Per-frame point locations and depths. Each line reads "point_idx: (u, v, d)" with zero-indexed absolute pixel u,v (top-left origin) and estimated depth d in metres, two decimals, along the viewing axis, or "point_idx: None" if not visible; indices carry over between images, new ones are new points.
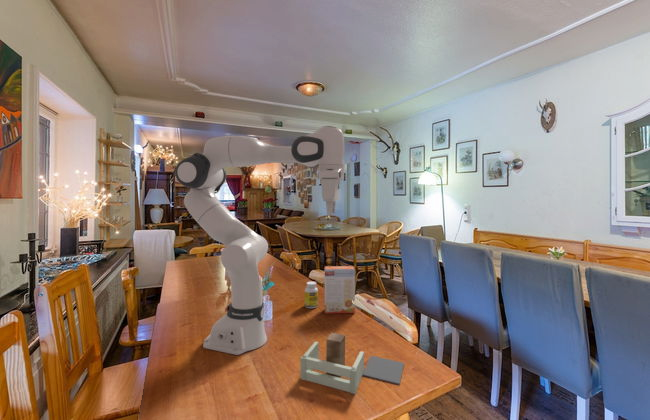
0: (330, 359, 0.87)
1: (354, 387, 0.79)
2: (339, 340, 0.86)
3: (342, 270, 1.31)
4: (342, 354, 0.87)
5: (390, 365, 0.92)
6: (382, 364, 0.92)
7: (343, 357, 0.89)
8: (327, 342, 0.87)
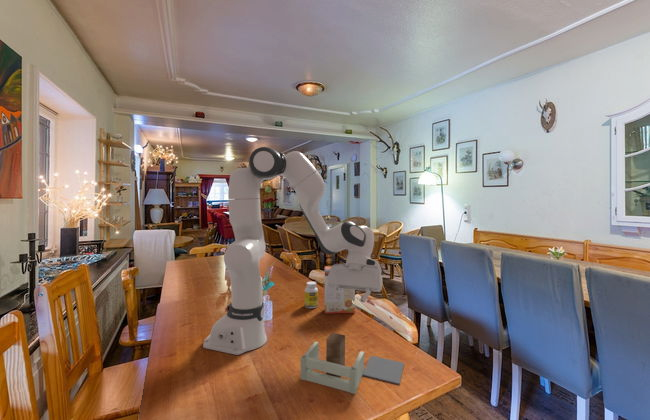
0: (330, 359, 0.87)
1: (354, 387, 0.79)
2: (339, 340, 0.86)
3: None
4: (342, 354, 0.87)
5: (390, 365, 0.92)
6: (382, 364, 0.92)
7: (343, 357, 0.89)
8: (327, 342, 0.87)
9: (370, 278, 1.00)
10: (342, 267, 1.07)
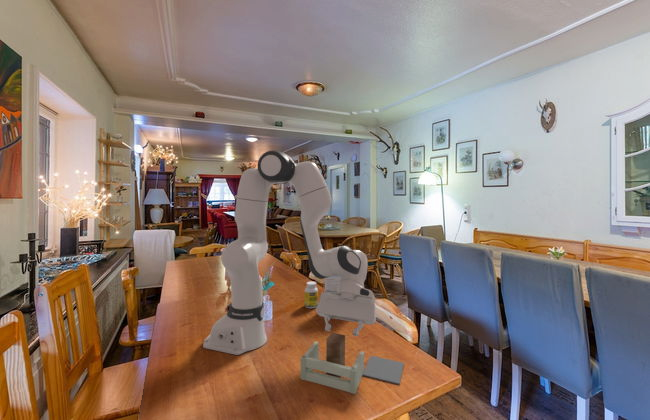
0: (330, 359, 0.87)
1: (354, 387, 0.79)
2: (339, 340, 0.86)
3: None
4: (342, 354, 0.87)
5: (390, 365, 0.92)
6: (382, 364, 0.92)
7: (343, 357, 0.89)
8: (327, 342, 0.87)
9: (364, 310, 0.94)
10: (333, 295, 1.00)
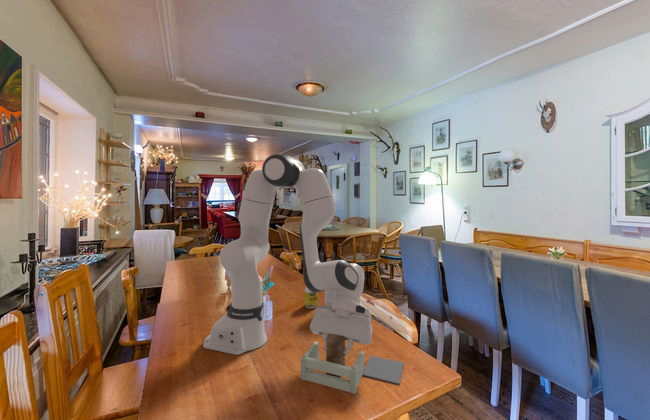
0: (330, 359, 0.87)
1: (354, 387, 0.79)
2: (339, 340, 0.86)
3: None
4: None
5: (390, 365, 0.92)
6: (382, 364, 0.92)
7: (343, 357, 0.89)
8: (327, 342, 0.87)
9: (359, 328, 0.89)
10: (328, 312, 0.96)
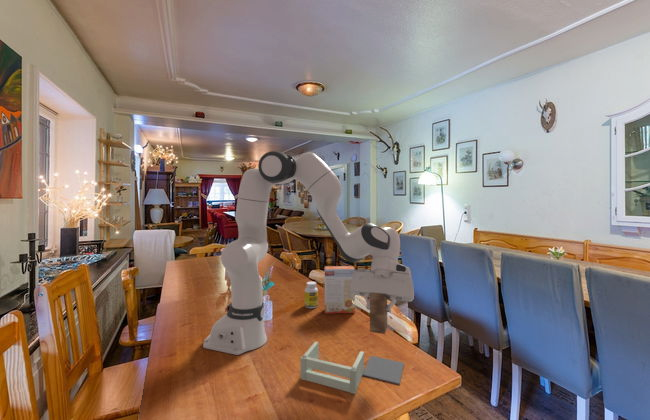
0: (374, 316, 0.87)
1: (354, 387, 0.79)
2: (382, 297, 0.86)
3: (342, 270, 1.31)
4: (385, 311, 0.87)
5: (390, 365, 0.92)
6: (382, 364, 0.92)
7: (386, 315, 0.89)
8: (370, 299, 0.87)
9: (401, 286, 0.89)
10: (367, 273, 0.96)
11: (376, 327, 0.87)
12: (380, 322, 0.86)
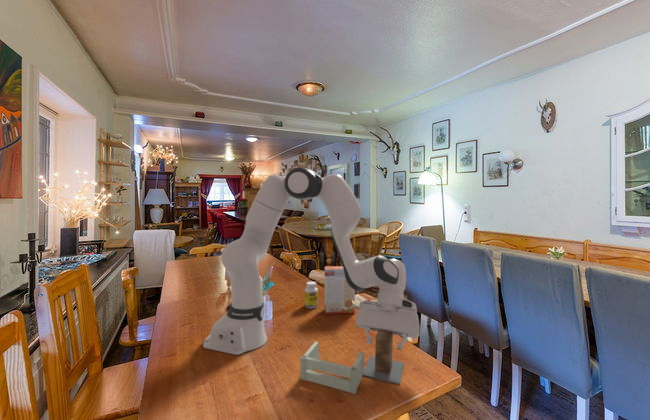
0: (379, 356, 0.88)
1: (354, 387, 0.79)
2: (388, 337, 0.88)
3: (342, 270, 1.31)
4: (391, 351, 0.89)
5: None
6: None
7: (391, 354, 0.90)
8: (376, 339, 0.88)
9: (407, 322, 0.90)
10: (373, 306, 0.97)
11: (381, 366, 0.88)
12: (385, 362, 0.87)
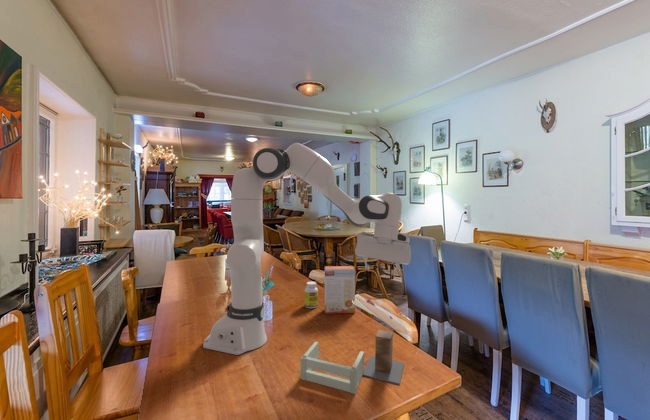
0: (379, 356, 0.88)
1: (354, 387, 0.79)
2: (388, 337, 0.88)
3: (342, 270, 1.31)
4: (391, 351, 0.89)
5: None
6: None
7: (391, 354, 0.90)
8: (376, 339, 0.88)
9: (401, 253, 1.03)
10: (371, 238, 1.07)
11: (381, 366, 0.88)
12: (385, 362, 0.87)
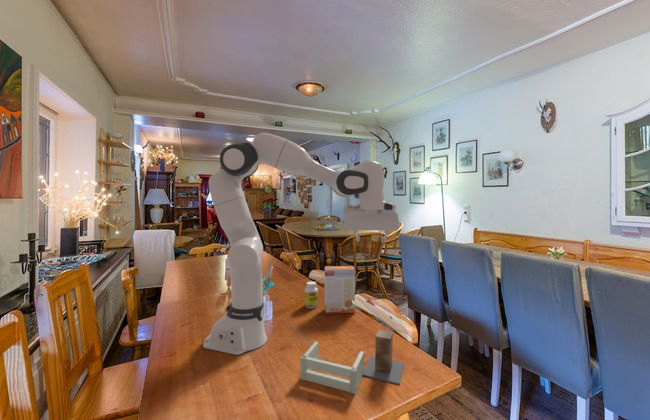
0: (379, 356, 0.88)
1: (354, 387, 0.79)
2: (388, 337, 0.88)
3: (342, 270, 1.31)
4: (391, 351, 0.89)
5: None
6: None
7: (391, 354, 0.90)
8: (376, 339, 0.88)
9: (389, 221, 1.04)
10: (357, 211, 1.05)
11: (381, 366, 0.88)
12: (385, 362, 0.87)
